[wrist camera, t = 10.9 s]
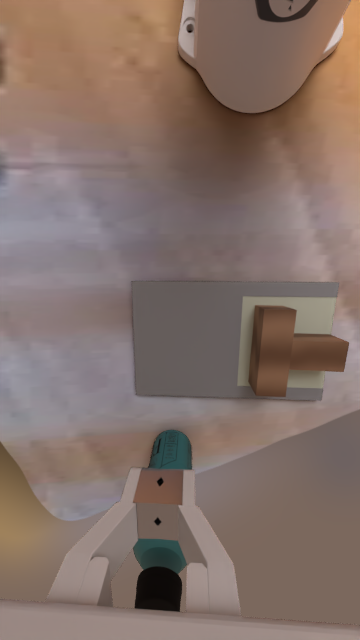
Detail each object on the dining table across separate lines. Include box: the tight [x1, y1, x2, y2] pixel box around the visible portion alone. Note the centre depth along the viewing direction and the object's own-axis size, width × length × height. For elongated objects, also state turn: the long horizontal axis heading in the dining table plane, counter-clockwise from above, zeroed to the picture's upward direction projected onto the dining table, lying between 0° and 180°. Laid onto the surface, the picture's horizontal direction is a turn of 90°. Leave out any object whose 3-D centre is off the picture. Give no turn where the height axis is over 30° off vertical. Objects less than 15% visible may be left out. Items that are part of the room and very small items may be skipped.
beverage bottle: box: [133, 430, 192, 612], centre depth 28 cm, size 6×7×20 cm
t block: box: [248, 305, 349, 397], centre depth 30 cm, size 12×11×4 cm
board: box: [132, 281, 339, 401], centre depth 33 cm, size 18×29×1 cm, turn 90°
